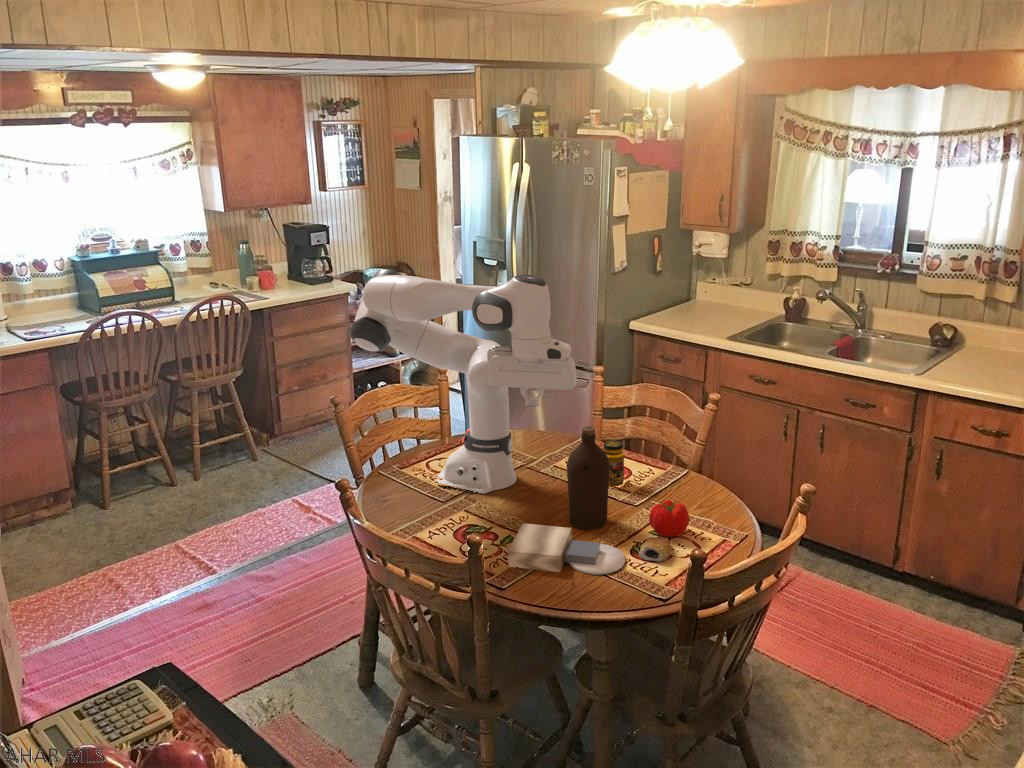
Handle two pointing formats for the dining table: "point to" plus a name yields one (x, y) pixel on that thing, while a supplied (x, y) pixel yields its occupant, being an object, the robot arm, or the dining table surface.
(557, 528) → the beige flat square block
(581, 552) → the grey rounded eraser
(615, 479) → the condiment
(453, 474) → the robot arm
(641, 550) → the pastry
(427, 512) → the dining table surface
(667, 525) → the tomato
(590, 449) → the olive oil
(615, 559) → the plate
